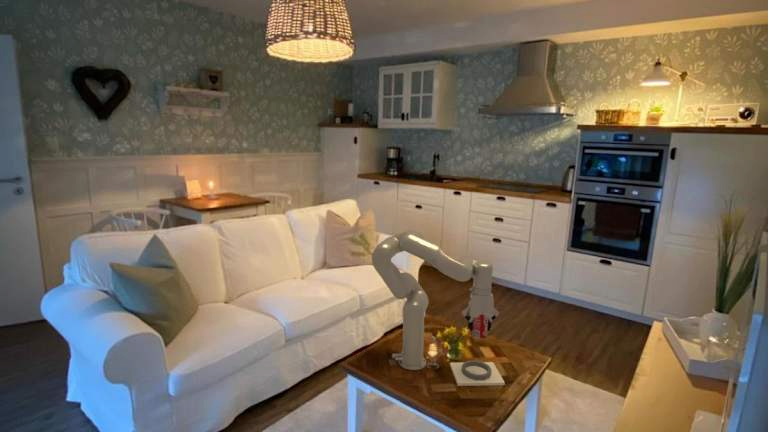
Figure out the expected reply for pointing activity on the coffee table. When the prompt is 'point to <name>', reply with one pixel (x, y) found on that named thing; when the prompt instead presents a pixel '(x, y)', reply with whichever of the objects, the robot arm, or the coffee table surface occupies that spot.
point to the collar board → (476, 373)
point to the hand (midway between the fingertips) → (479, 329)
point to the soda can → (480, 327)
